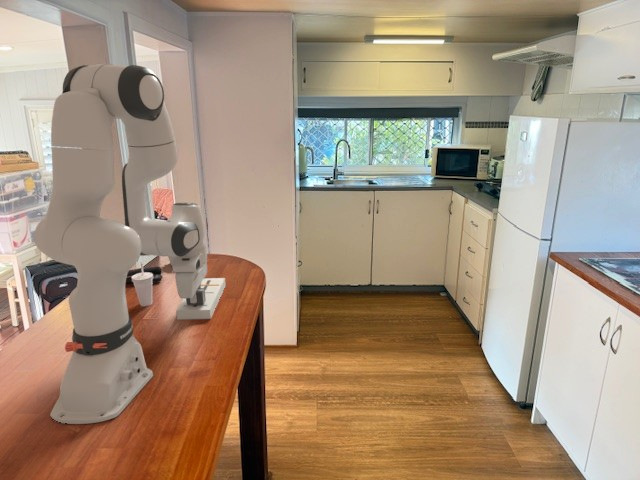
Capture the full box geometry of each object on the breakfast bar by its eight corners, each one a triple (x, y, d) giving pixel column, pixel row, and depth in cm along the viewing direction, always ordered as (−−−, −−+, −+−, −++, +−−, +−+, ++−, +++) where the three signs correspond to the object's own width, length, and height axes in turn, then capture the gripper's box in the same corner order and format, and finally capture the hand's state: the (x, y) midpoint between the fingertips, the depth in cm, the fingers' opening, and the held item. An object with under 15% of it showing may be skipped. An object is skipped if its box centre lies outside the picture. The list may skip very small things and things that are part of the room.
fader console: (210, 318, 128) (210, 309, 127) (177, 319, 128) (175, 310, 127) (225, 285, 151) (225, 277, 150) (197, 286, 150) (196, 278, 150)
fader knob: (203, 304, 129) (202, 291, 128) (186, 304, 129) (185, 292, 128) (205, 300, 132) (204, 287, 131) (189, 300, 132) (187, 288, 131)
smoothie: (160, 299, 141) (155, 259, 136) (151, 308, 134) (145, 267, 130) (141, 299, 141) (135, 259, 137) (131, 307, 135) (125, 266, 131)
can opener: (164, 276, 160) (162, 262, 158) (161, 284, 153) (160, 269, 151) (113, 281, 156) (111, 266, 155) (108, 288, 150) (106, 273, 148)
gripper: (190, 245, 136) (194, 285, 140) (170, 268, 116) (175, 314, 121) (210, 244, 136) (213, 284, 140) (193, 268, 117) (198, 314, 121)
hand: (196, 299), depth 130 cm, fingers closed on fader knob, 3 cm apart
